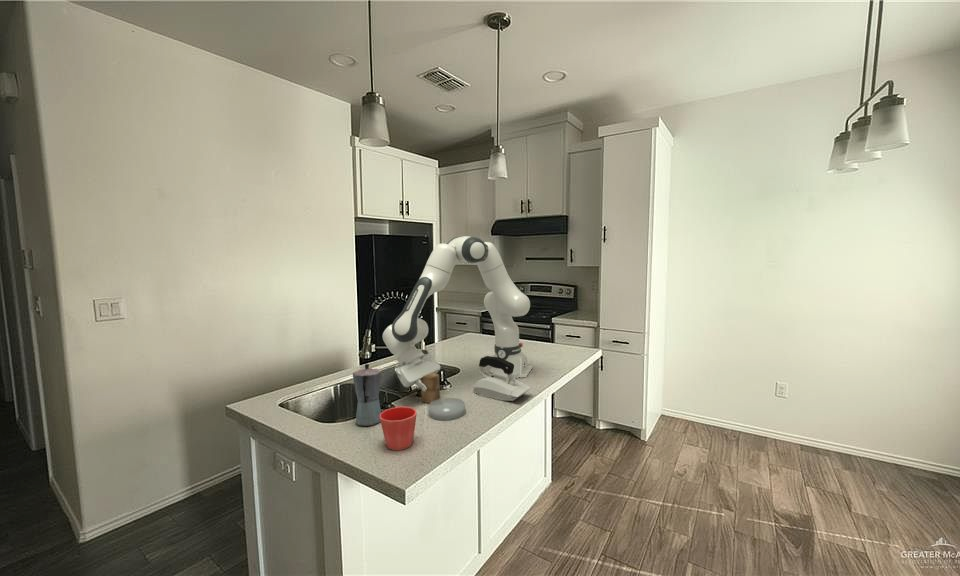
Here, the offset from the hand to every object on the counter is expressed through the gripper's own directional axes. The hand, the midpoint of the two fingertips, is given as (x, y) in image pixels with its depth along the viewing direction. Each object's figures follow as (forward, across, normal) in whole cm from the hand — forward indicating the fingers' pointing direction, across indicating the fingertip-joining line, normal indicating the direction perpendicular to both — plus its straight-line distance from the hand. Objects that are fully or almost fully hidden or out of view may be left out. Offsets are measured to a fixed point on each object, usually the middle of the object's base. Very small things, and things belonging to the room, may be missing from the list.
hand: (431, 387), depth 148 cm
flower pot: (+12, -31, -4) cm, 34 cm away
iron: (+19, +17, -10) cm, 27 cm away
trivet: (+12, -6, -4) cm, 14 cm away
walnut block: (+3, 0, +4) cm, 5 cm away
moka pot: (-2, -24, +10) cm, 26 cm away
